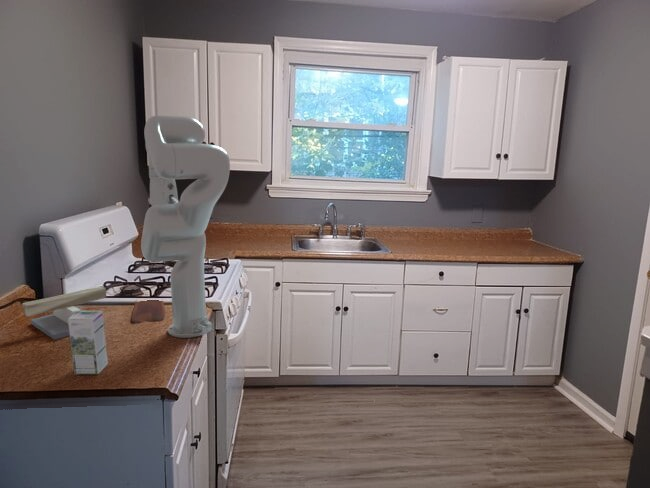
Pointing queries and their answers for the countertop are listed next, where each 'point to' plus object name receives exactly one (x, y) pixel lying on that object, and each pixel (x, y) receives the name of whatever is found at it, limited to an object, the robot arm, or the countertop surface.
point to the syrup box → (87, 342)
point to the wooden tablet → (148, 311)
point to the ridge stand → (56, 322)
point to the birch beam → (63, 301)
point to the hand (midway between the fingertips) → (164, 225)
